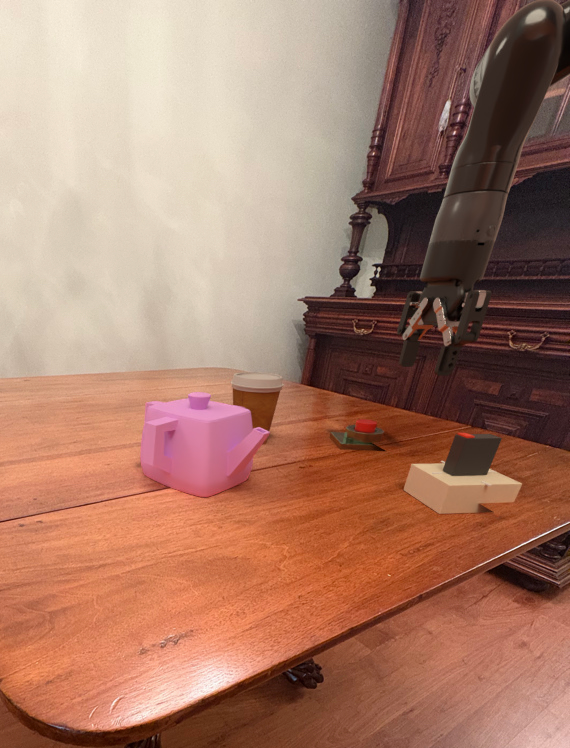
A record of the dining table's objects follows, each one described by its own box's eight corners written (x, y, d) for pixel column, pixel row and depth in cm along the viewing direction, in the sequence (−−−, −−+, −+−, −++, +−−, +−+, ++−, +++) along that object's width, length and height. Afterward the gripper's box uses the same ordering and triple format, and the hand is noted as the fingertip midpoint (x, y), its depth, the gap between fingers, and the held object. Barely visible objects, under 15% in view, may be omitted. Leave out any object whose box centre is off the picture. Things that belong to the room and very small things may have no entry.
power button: (371, 428, 82) (373, 419, 81) (377, 433, 78) (380, 424, 78) (351, 428, 82) (354, 418, 81) (357, 433, 79) (359, 423, 78)
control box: (463, 486, 63) (474, 460, 61) (513, 513, 56) (527, 484, 53) (400, 488, 63) (409, 461, 60) (442, 516, 55) (453, 486, 53)
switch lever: (475, 469, 58) (491, 431, 56) (487, 475, 56) (503, 436, 54) (442, 470, 58) (455, 432, 55) (452, 475, 56) (466, 436, 53)
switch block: (380, 439, 84) (384, 424, 83) (395, 452, 78) (400, 436, 76) (329, 437, 85) (332, 422, 84) (339, 449, 78) (343, 433, 77)
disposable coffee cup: (258, 432, 87) (266, 370, 81) (284, 446, 80) (295, 378, 74) (216, 436, 85) (222, 372, 79) (240, 450, 77) (247, 381, 71)
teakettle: (141, 458, 72) (140, 382, 66) (240, 459, 73) (248, 383, 67) (138, 499, 58) (136, 406, 51) (262, 500, 58) (275, 407, 52)
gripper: (402, 244, 62) (373, 364, 70) (476, 231, 50) (431, 378, 58) (450, 246, 63) (416, 364, 71) (533, 234, 50) (481, 378, 58)
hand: (422, 370), depth 64 cm, fingers open, 8 cm apart
